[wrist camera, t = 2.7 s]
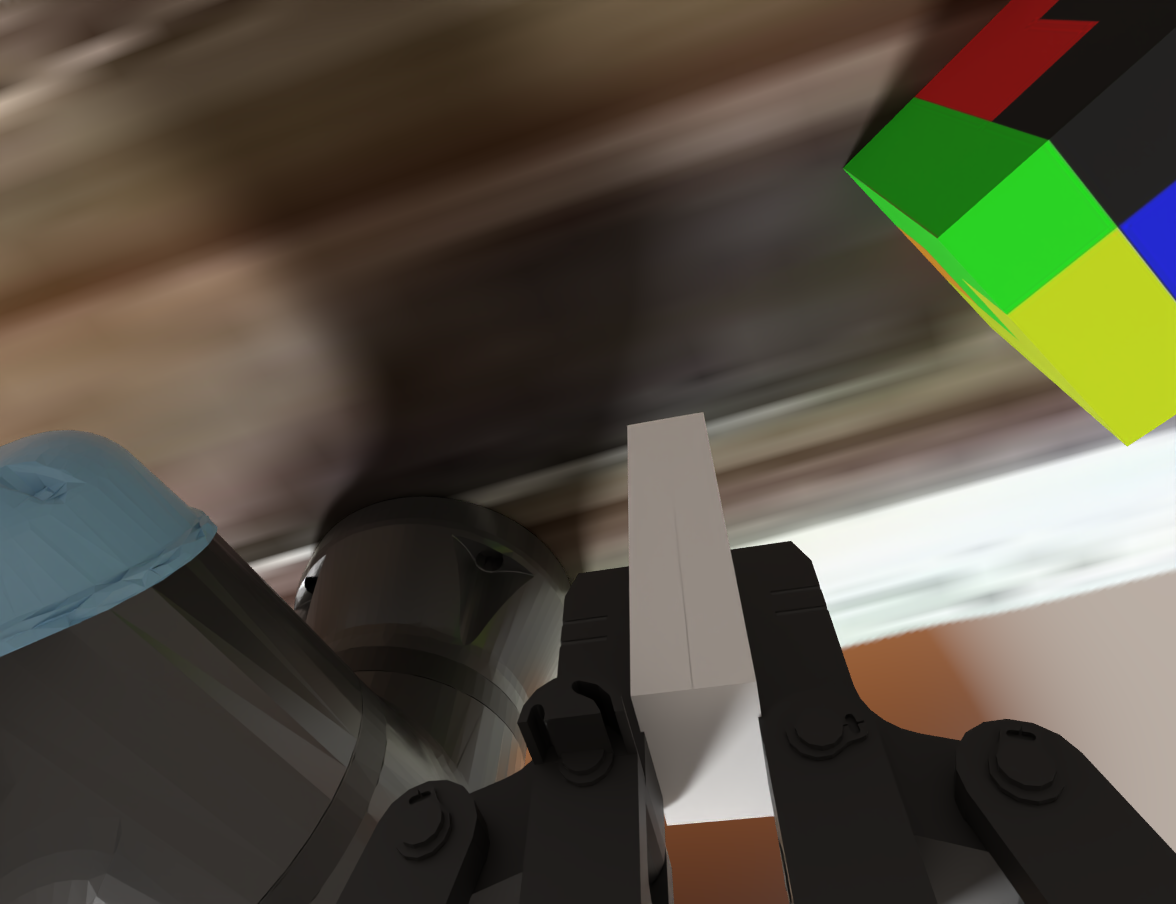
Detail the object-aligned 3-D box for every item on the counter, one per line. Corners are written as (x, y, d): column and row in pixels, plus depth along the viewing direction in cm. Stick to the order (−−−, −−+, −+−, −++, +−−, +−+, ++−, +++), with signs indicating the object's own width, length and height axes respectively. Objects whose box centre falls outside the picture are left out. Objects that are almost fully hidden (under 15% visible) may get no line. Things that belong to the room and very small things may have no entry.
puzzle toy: (1225, 140, 27) (1499, 202, 19) (990, 326, 31) (1127, 446, 23) (1082, -72, 24) (1333, -113, 16) (842, 168, 28) (937, 238, 20)
